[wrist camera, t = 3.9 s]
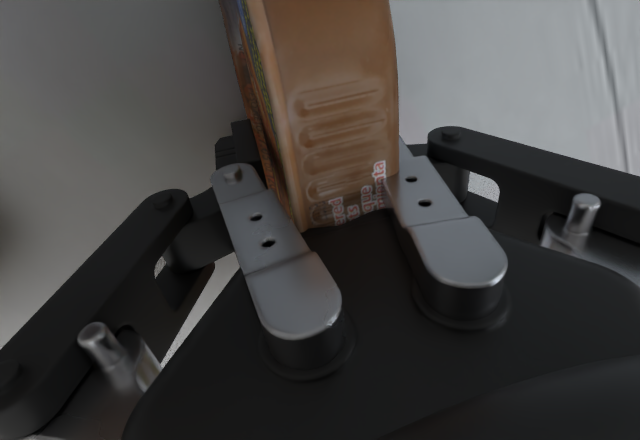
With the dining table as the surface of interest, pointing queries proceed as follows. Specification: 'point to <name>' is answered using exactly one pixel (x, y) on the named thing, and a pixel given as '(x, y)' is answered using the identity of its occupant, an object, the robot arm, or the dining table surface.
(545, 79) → the dining table surface
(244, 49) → the tin
